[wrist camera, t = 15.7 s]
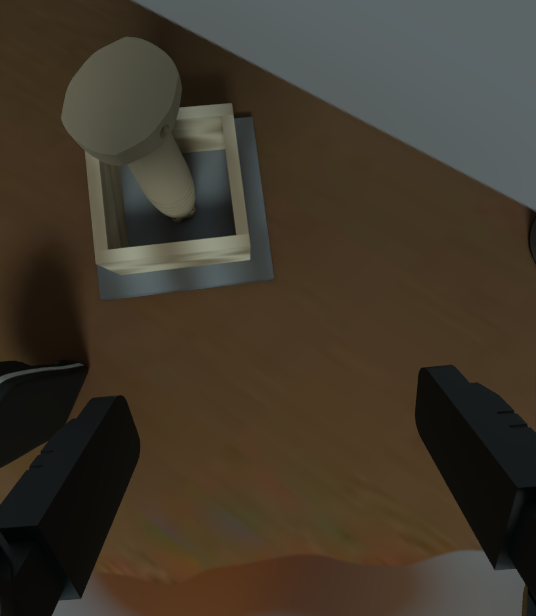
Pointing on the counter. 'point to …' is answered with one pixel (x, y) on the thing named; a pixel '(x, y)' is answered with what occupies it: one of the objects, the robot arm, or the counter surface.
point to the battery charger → (35, 403)
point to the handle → (133, 119)
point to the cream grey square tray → (190, 231)
